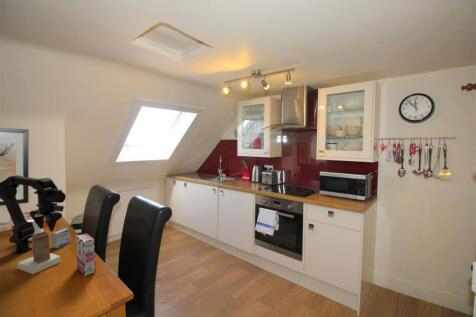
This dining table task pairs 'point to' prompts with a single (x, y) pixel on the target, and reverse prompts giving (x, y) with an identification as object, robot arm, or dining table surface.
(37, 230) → the beverage can
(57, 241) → the medicine box
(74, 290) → the dining table surface
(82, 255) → the candy bar box
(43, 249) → the walnut block
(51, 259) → the sage base
